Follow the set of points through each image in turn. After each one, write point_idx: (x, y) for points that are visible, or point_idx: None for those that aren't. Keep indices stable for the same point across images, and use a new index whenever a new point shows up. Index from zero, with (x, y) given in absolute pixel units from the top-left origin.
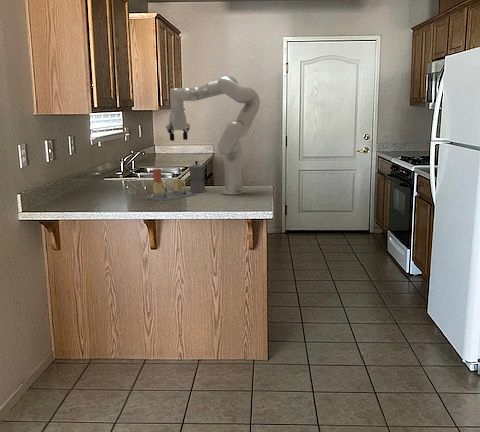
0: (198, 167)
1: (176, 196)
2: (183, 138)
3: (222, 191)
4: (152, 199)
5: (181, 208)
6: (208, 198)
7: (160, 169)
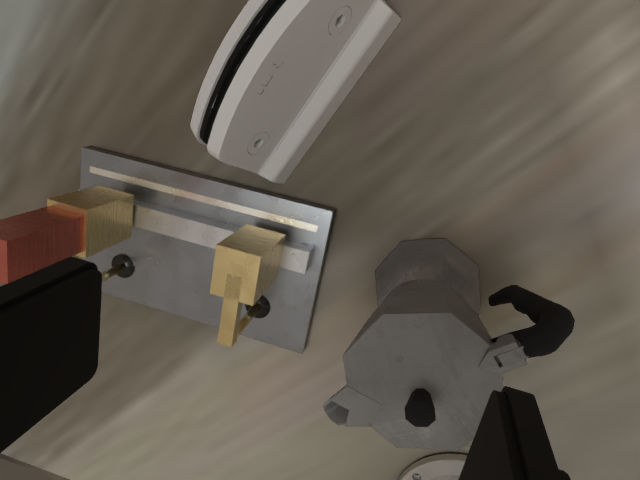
0: (373, 426)
1: (169, 312)
2: (493, 411)
3: (423, 464)
4: None
5: (24, 456)
6: (251, 454)
7: (8, 282)
